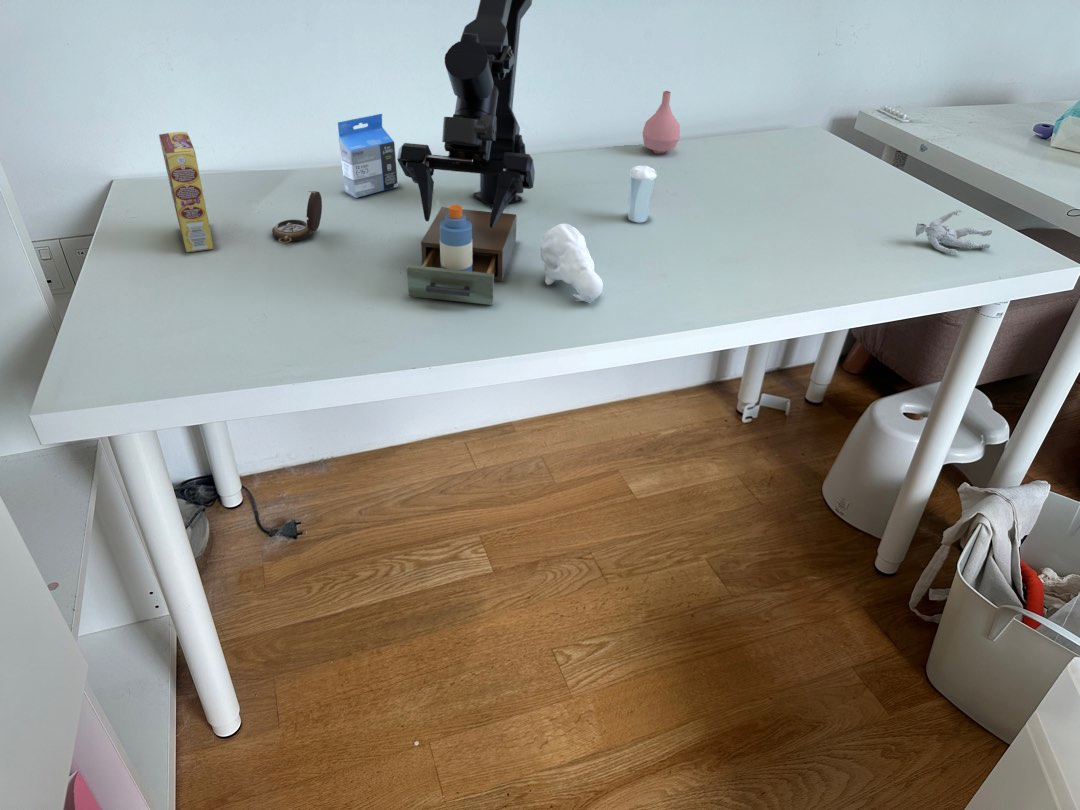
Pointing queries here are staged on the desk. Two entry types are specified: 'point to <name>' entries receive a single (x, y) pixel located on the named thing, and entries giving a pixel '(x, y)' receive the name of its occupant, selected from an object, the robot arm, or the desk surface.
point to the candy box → (186, 190)
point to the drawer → (454, 279)
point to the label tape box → (367, 156)
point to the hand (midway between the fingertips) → (458, 223)
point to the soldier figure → (950, 235)
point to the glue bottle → (456, 240)
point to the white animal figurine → (570, 261)
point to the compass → (301, 222)
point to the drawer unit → (479, 236)
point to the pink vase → (662, 128)
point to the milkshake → (640, 192)
